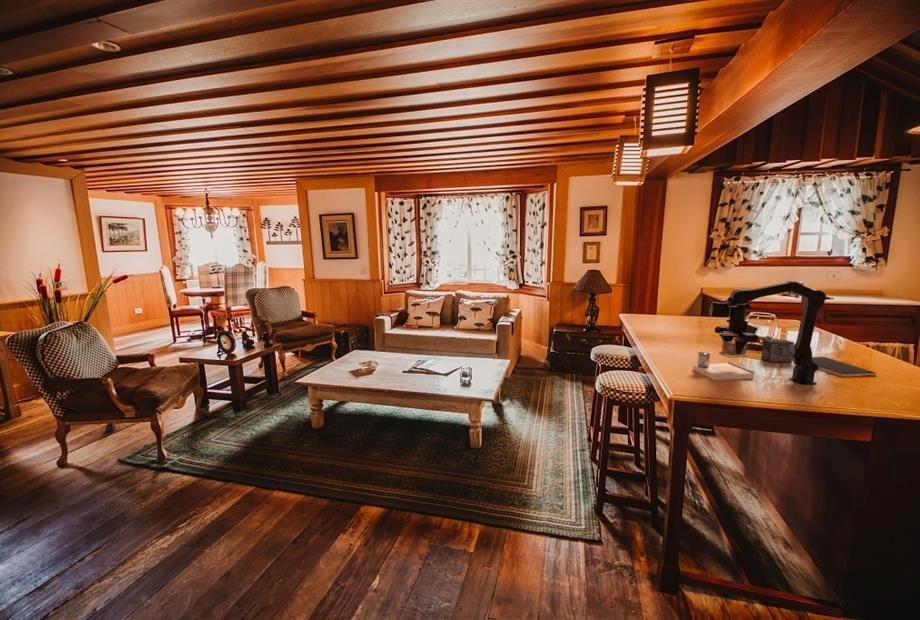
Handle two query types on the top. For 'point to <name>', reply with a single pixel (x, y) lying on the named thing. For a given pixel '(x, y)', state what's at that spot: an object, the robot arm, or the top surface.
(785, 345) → the small box
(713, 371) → the dock
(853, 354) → the top surface
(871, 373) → the hardcover book
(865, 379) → the top surface
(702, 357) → the canister
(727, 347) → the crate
